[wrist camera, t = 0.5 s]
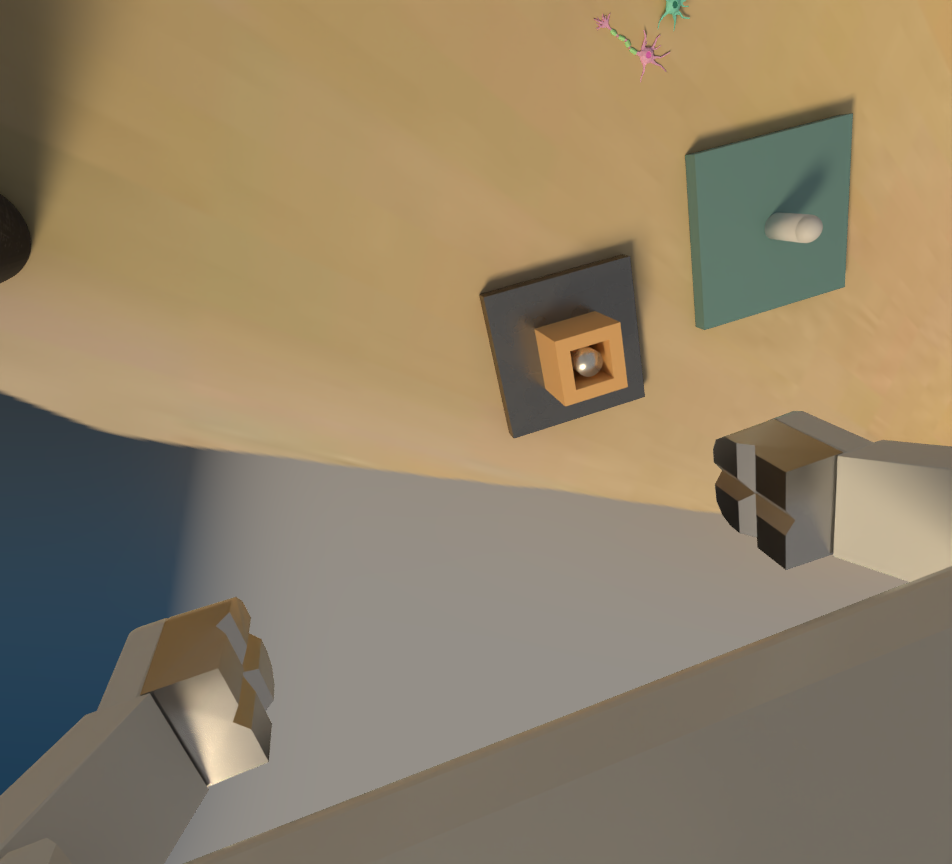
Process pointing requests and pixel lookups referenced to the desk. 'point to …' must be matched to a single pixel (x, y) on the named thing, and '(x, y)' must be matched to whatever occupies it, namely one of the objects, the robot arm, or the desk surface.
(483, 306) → the stand
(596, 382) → the collar
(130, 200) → the desk surface
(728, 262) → the hub plate
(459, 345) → the desk surface
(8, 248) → the travel mug
